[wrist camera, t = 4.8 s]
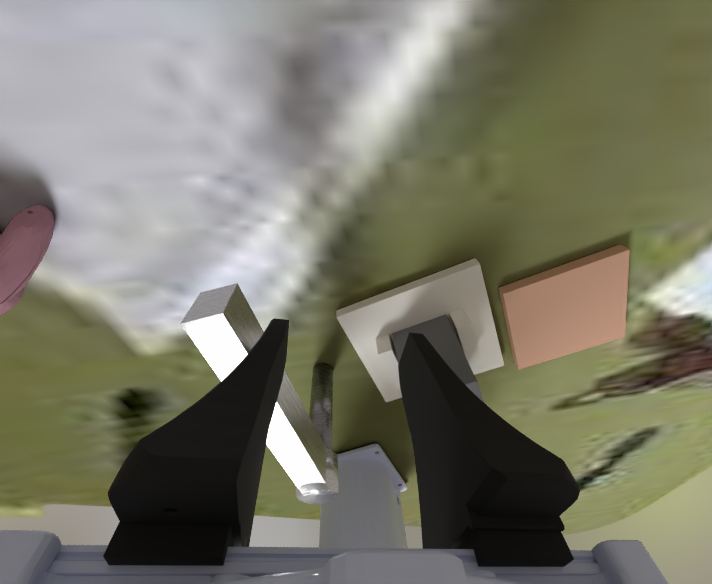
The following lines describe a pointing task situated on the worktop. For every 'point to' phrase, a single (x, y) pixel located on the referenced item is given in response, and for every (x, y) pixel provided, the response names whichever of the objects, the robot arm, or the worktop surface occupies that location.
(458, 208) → the worktop surface
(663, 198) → the worktop surface
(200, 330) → the white square rod
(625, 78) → the worktop surface
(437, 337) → the plug
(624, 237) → the worktop surface
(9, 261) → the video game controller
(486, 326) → the socket
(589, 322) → the tile
